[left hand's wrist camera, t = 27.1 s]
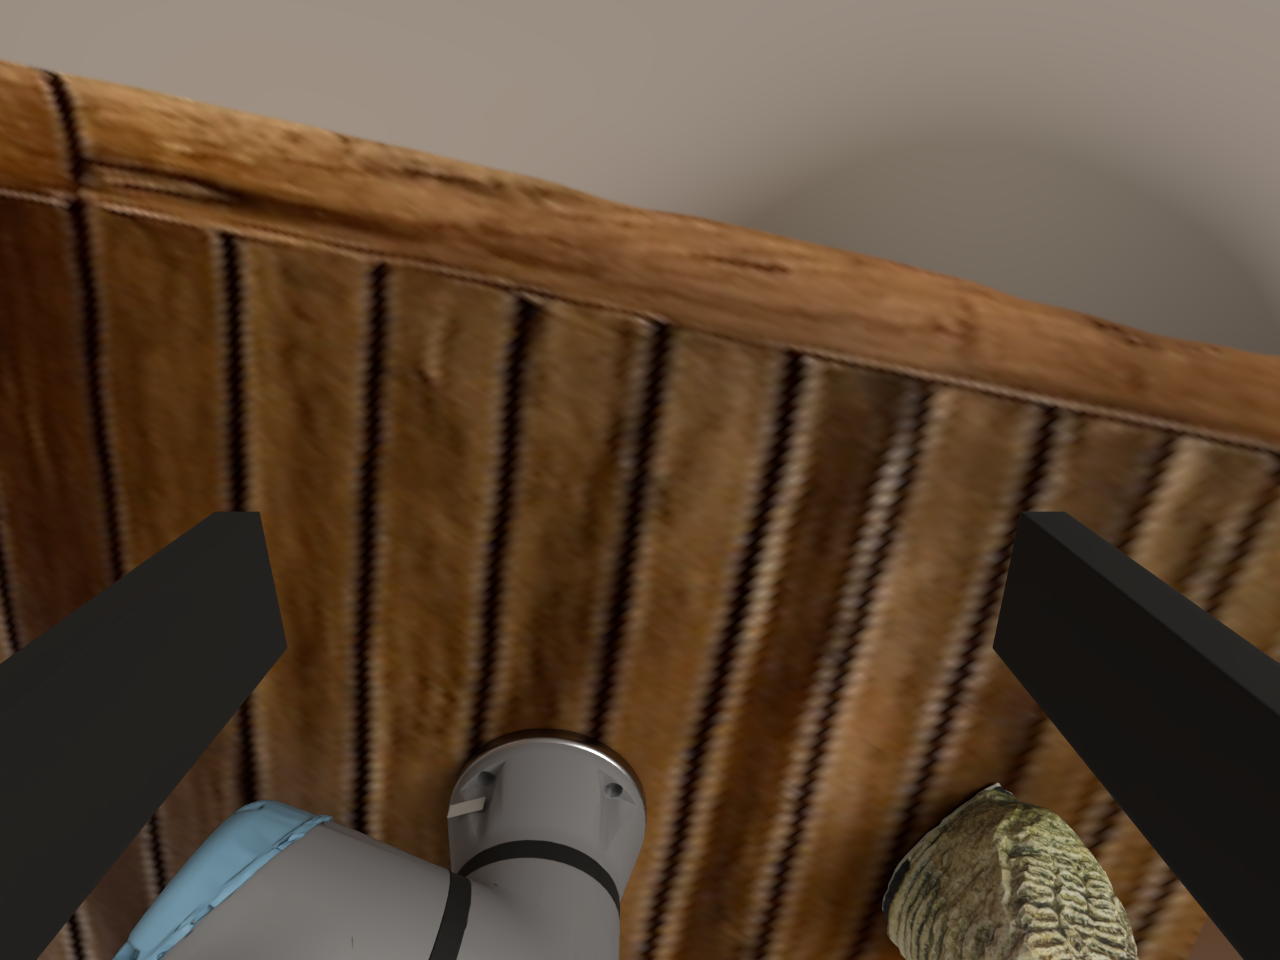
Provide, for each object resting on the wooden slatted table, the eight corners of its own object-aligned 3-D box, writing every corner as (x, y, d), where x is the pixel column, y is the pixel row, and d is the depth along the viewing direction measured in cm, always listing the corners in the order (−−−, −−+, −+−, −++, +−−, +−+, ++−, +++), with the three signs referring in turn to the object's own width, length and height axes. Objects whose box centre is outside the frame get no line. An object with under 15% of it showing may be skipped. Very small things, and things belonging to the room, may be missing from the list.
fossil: (1062, 776, 55) (1205, 968, 41) (959, 938, 62) (1054, 1153, 48) (956, 751, 54) (1066, 938, 40) (864, 918, 61) (931, 1130, 47)
